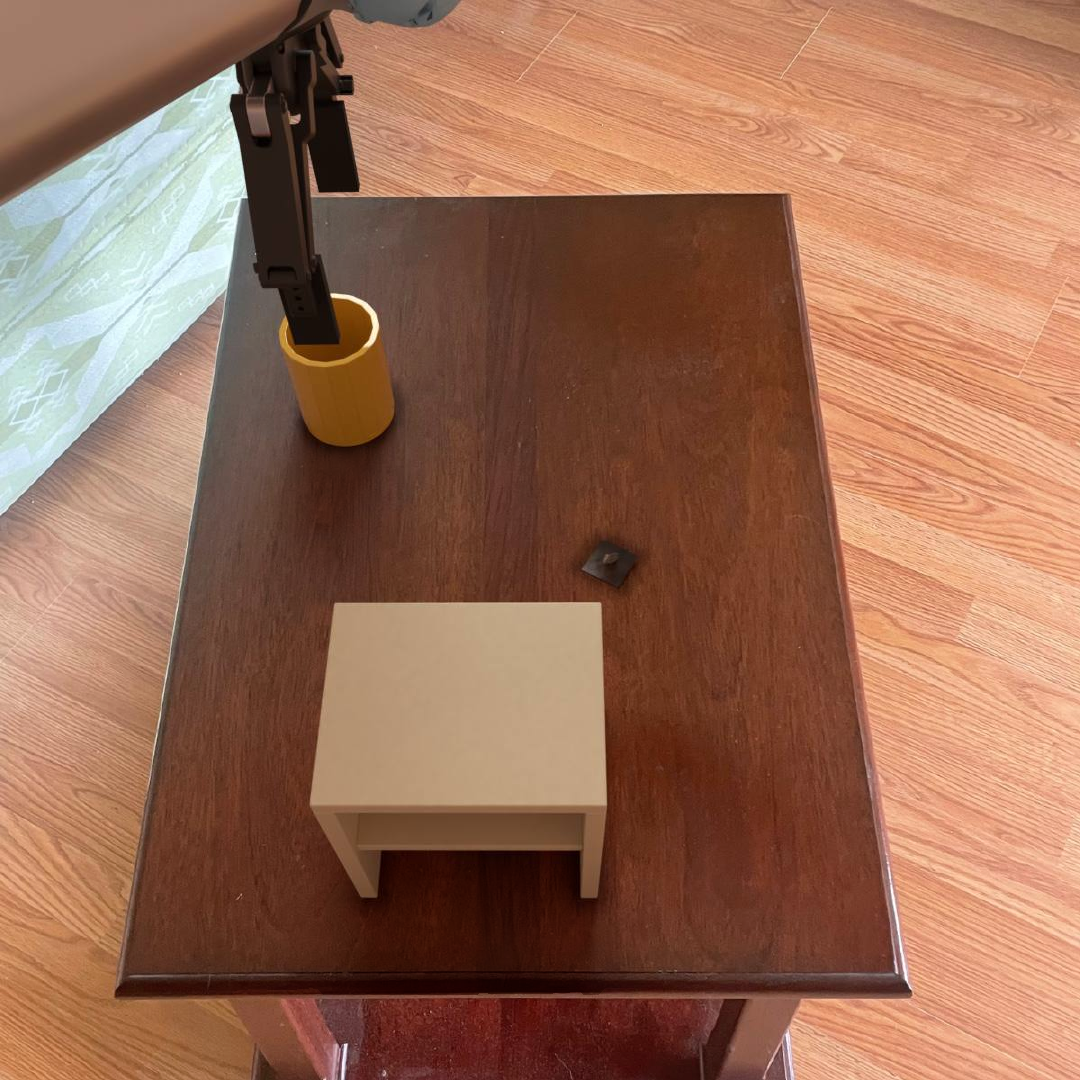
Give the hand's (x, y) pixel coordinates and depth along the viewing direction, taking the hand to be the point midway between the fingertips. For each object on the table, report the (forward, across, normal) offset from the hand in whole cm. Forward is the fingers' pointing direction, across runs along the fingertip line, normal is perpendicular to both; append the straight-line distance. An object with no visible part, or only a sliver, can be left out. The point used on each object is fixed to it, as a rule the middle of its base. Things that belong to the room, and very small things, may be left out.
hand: (329, 261), depth 70 cm
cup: (+17, +2, +2) cm, 17 cm away
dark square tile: (+17, -13, -18) cm, 28 cm away
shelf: (+17, -30, -10) cm, 36 cm away
